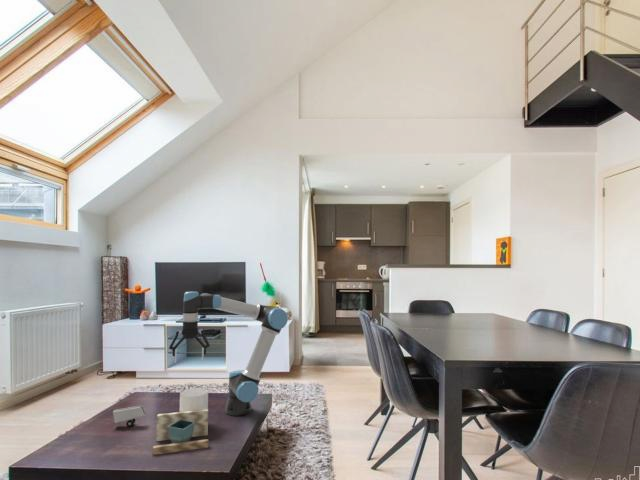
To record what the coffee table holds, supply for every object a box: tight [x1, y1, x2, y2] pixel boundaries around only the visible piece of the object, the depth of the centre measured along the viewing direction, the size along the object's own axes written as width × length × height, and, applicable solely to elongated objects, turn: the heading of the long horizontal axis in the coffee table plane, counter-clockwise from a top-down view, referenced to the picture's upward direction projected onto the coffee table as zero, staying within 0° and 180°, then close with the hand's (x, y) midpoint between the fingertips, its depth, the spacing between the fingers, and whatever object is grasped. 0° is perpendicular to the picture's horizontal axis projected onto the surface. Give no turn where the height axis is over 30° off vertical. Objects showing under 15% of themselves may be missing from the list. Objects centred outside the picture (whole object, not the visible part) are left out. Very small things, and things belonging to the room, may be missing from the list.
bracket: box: [112, 405, 147, 428], centre depth 202 cm, size 4×10×15 cm
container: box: [179, 387, 209, 412], centre depth 202 cm, size 14×14×18 cm
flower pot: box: [169, 420, 195, 444], centre depth 182 cm, size 9×9×9 cm
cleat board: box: [152, 408, 209, 456], centre depth 183 cm, size 24×16×12 cm, turn 107°
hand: (189, 361), depth 200 cm, fingers open, 13 cm apart
